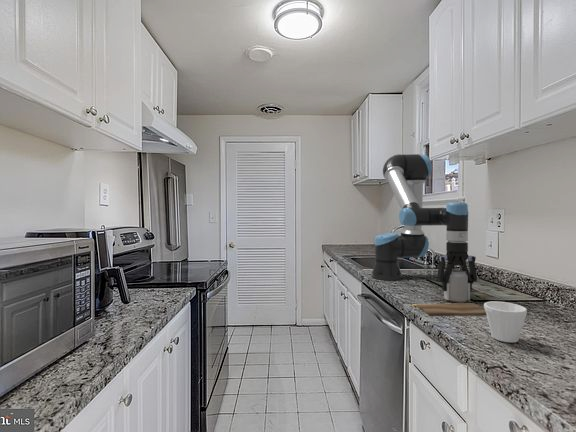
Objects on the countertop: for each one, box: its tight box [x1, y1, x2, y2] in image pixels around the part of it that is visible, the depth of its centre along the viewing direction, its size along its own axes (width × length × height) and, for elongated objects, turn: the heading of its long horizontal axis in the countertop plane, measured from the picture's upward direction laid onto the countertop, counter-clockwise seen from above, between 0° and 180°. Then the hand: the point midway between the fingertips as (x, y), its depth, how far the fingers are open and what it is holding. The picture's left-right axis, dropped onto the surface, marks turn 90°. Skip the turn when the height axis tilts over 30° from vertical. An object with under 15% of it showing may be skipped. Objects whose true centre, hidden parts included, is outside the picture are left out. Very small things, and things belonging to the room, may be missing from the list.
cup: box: [483, 300, 528, 344], centre depth 89 cm, size 10×10×9 cm
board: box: [416, 303, 487, 317], centre depth 114 cm, size 10×22×1 cm, turn 91°
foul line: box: [411, 302, 476, 307], centre depth 120 cm, size 1×24×1 cm, turn 91°
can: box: [447, 269, 469, 304], centre depth 126 cm, size 8×8×12 cm
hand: (456, 298), depth 126 cm, fingers closed on can, 7 cm apart
